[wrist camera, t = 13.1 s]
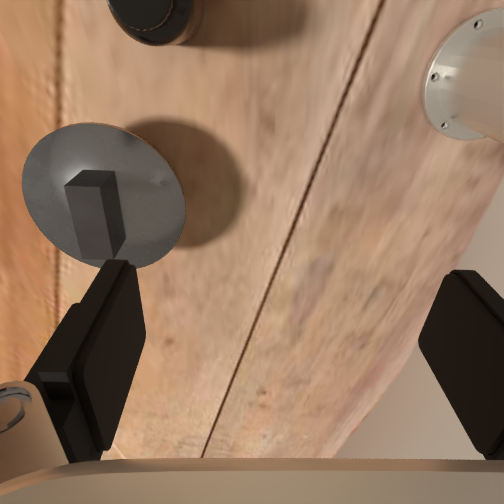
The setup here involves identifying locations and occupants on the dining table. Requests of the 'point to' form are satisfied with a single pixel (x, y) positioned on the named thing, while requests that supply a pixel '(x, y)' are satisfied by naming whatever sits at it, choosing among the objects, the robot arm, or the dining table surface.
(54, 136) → the lid
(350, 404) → the dining table surface
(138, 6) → the supplement bottle
